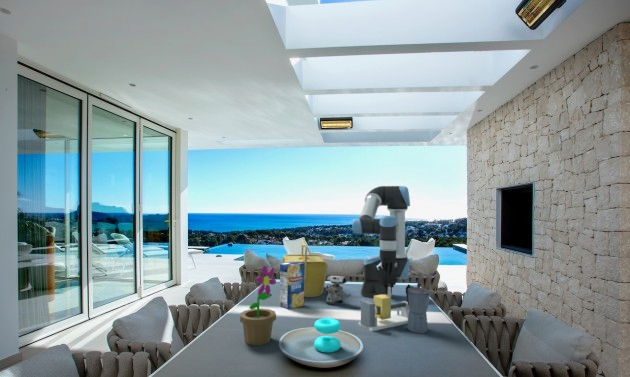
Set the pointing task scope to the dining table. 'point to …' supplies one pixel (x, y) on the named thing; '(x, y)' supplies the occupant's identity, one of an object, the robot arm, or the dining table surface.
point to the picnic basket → (310, 271)
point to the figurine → (335, 289)
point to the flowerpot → (259, 314)
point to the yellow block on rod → (383, 306)
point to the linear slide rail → (375, 323)
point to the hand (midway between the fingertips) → (387, 301)
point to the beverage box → (291, 285)
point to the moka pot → (417, 308)
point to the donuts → (327, 342)
